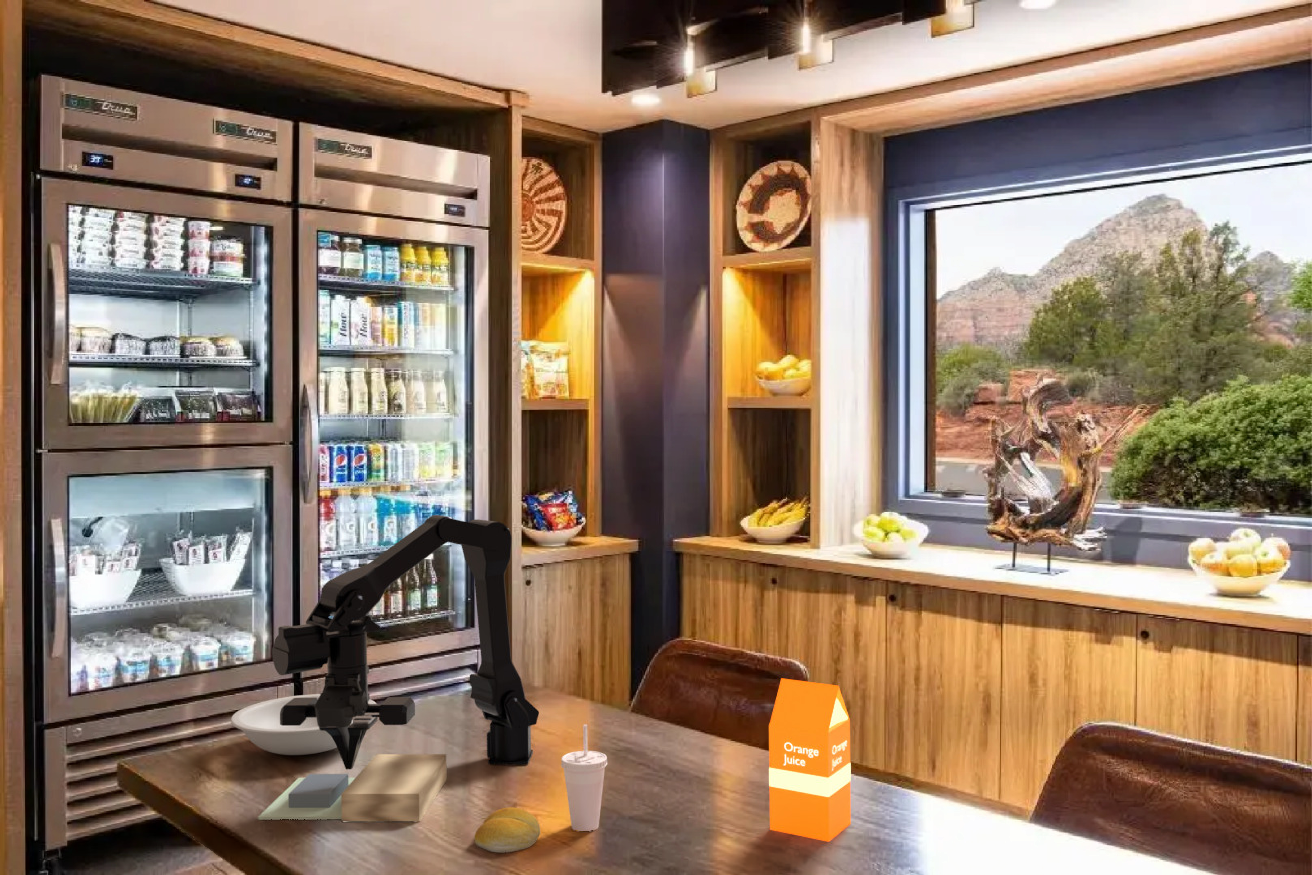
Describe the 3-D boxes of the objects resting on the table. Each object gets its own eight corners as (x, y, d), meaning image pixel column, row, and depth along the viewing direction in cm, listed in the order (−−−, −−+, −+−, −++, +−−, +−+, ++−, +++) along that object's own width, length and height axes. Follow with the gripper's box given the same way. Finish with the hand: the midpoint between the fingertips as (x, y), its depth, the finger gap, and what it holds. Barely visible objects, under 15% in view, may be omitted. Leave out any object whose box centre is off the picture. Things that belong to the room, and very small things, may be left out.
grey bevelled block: (309, 773, 175) (309, 786, 175) (288, 793, 166) (288, 807, 166) (348, 773, 175) (348, 786, 175) (329, 793, 166) (329, 807, 166)
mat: (374, 779, 179) (374, 777, 179) (341, 819, 162) (341, 816, 162) (298, 779, 179) (298, 777, 179) (258, 819, 162) (258, 816, 162)
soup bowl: (356, 771, 183) (355, 730, 183) (208, 772, 184) (207, 731, 184) (394, 729, 207) (393, 693, 207) (262, 730, 208) (261, 693, 208)
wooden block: (446, 779, 179) (446, 754, 179) (419, 821, 161) (418, 793, 161) (376, 779, 179) (376, 754, 179) (341, 821, 161) (341, 793, 161)
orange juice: (829, 842, 151) (827, 692, 151) (768, 829, 156) (767, 684, 155) (851, 823, 158) (850, 679, 157) (793, 811, 163) (792, 672, 162)
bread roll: (467, 853, 150) (467, 823, 150) (489, 828, 159) (489, 799, 158) (528, 857, 148) (528, 826, 148) (547, 831, 157) (546, 802, 157)
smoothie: (615, 821, 160) (613, 721, 160) (598, 837, 154) (596, 734, 153) (573, 816, 162) (571, 718, 162) (554, 832, 156) (552, 730, 156)
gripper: (264, 677, 162) (267, 786, 162) (395, 676, 161) (398, 786, 162) (292, 659, 173) (294, 762, 173) (414, 659, 172) (416, 761, 173)
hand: (349, 768), depth 170 cm, fingers closed
